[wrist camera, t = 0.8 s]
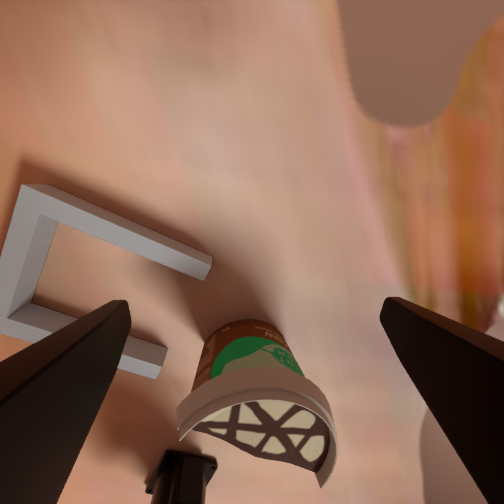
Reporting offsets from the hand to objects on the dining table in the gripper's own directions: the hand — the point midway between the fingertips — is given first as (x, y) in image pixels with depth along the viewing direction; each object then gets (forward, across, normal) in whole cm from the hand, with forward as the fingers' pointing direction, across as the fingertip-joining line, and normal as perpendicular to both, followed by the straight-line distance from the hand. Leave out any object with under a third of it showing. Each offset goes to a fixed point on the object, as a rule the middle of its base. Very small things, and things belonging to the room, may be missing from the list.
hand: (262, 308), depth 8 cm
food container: (+12, -2, +13) cm, 18 cm away
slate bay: (+13, +11, +7) cm, 18 cm away
